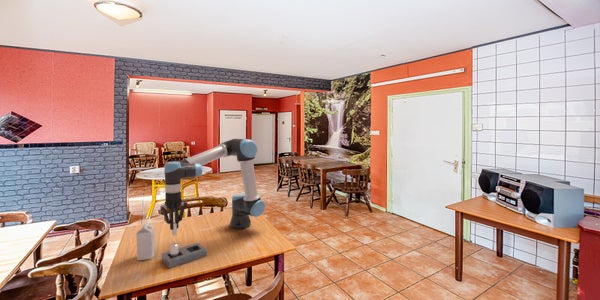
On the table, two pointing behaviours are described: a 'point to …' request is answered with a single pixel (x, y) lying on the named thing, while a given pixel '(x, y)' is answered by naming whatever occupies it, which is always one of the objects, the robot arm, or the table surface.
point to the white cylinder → (174, 250)
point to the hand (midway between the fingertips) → (174, 234)
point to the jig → (184, 255)
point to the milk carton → (145, 242)
